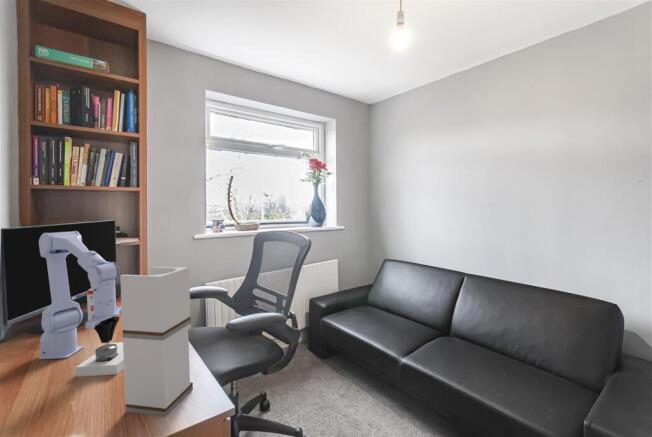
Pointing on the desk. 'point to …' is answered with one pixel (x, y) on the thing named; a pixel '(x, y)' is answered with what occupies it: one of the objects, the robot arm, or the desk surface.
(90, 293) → the beer can
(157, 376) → the tall white square container
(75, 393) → the desk surface
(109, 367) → the plate
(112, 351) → the cylinder
